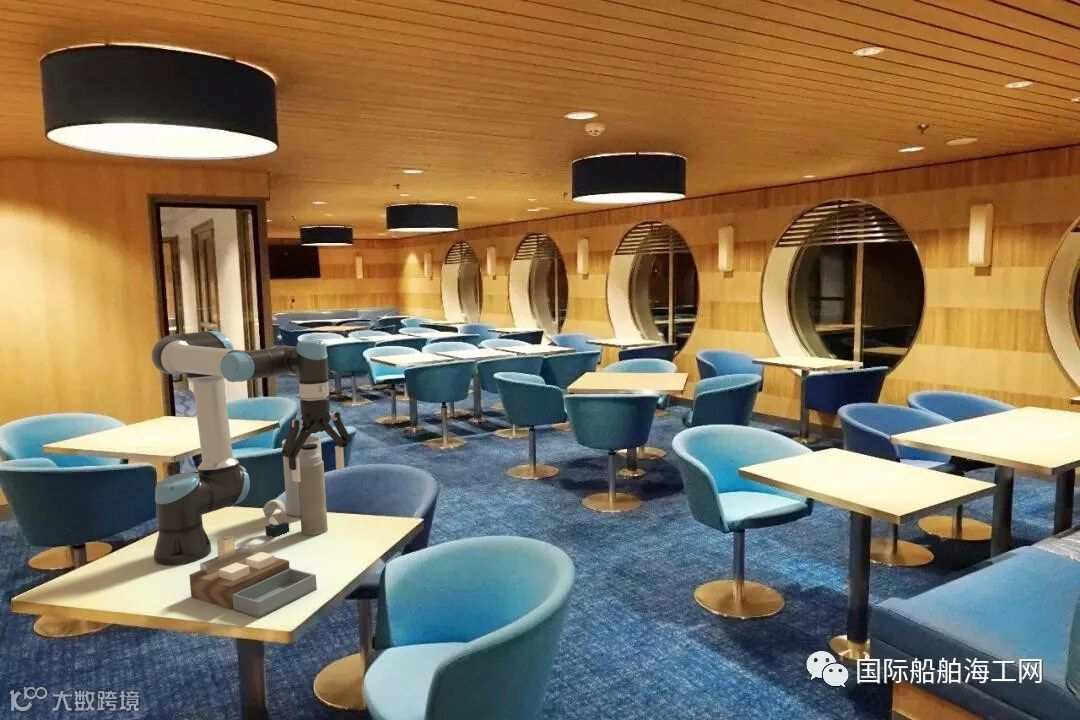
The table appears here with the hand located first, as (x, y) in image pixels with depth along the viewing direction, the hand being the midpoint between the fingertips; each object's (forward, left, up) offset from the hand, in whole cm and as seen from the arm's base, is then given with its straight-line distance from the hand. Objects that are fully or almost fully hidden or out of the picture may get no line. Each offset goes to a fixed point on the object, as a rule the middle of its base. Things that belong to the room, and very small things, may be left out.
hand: (319, 475), depth 201 cm
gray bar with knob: (-16, -19, -21) cm, 32 cm away
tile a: (-8, -23, -21) cm, 32 cm away
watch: (-36, +14, -27) cm, 47 cm away
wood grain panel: (-11, -19, -27) cm, 34 cm away
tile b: (-8, -15, -21) cm, 27 cm away
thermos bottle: (-27, +21, -27) cm, 44 cm away
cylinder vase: (-45, +34, -27) cm, 62 cm away
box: (+2, -19, -27) cm, 33 cm away
